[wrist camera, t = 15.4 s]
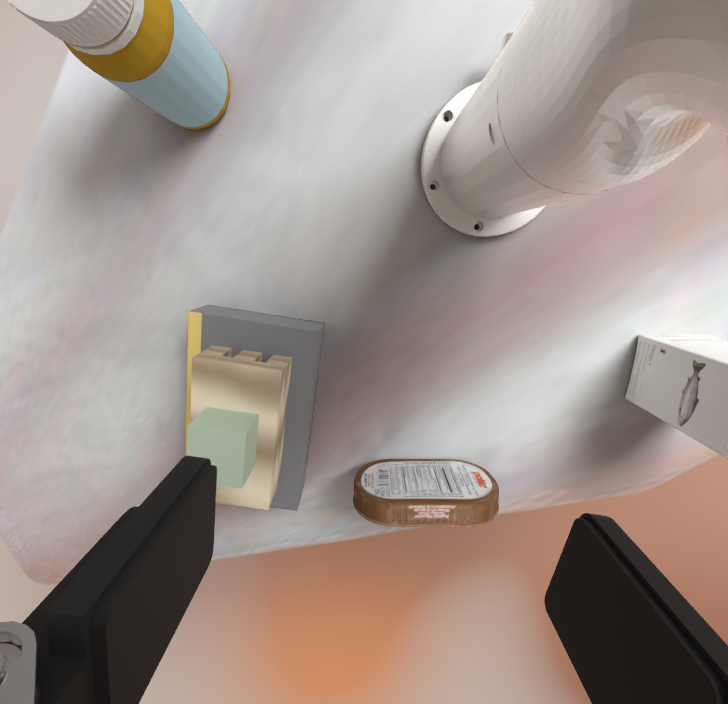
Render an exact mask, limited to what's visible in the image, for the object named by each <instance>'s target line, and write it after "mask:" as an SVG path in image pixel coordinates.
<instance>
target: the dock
mask: <svg viewBox="0 0 728 704" xmlns="http://www.w3.org/2000/svg"><path fill="white" fill-rule="evenodd" d="M324 325H325V323H320V322H313V321H307V320H301V319H294V318H288V317H282V316H275V315H269V314H263V313H256V312H250V311H244V310H237V309H231V308H225V307H218V306H212V305H206V306H203V307H200V308H198V309H195V310H192V311H189V312H188V349H187V398H186V446H185V456H187V432H188V425H189V424H190V423H191V380H192V358H193V357H194V356H196V355H198V354H199V353H201V352H202V351H204V350H206V349H207V348H209V347H211V346H212V345H213V346H220V347H226V348H232V353H231V358H233V357H235V356H236V355H237V354H239V353H240V352H241V351H242V350H246V351H252V352H259V353H262V360H261V362H264V363H266V362H267V361H268V360H269V359H270V358H271V356H272V355H279V356H285V357H292V364H291V373H290V383H289V392H288V402H287V411H286V421H285V430H284V440H283V449H282V459H281V468H280V478H279V484H278V487H277V490H276V492H275V495H274V497H273V500H272V503H271V505H270V507H273V508H280V509H287V510H295V511H297V509H298V505H299V501H300V498H301V494H302V490H303V487H304V479H305V471H306V464H307V456H308V448H309V441H310V433H311V425H312V417H313V410H314V402H315V394H316V387H317V379H318V371H319V363H320V356H321V348H322V340H323V333H324Z"/></svg>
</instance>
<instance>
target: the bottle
mask: <svg viewBox="0 0 728 704" xmlns="http://www.w3.org/2000/svg"><path fill="white" fill-rule="evenodd" d="M7 1H8V2H9V3H10V4H11V5H12V6H13V7H15V8H16V9H17V10H18V11H19V12H20V13H22V14H23V15H25V16H26V17H28V18H29V19H31V20H32V21H33V22H35V23H36V24H38V25H39V26H41V27H42V28H44V29H45V30H47V31H48V32H49V33H51V34H53V35H54V36H55V37H58V38H59V39H61V40H63V42H64V43H65V44H66V45H67V47H68V48H69V50H70V51H71V52H72V53H73V54H74V55H75V56H76V57H77V58H78V59H79V60H80V61H81V62H82V63H83V64H85V65H86V66H87V67H89V68H90V69H91V70H93V71H94V72H96V73H97V74H99V75H100V76H102V77H103V78H105V79H106V80H108V81H109V82H111V83H112V84H114V85H116V86H117V87H119V88H120V89H122V90H123V91H125V92H126V93H128V94H129V95H131V96H132V97H134V98H135V99H137V100H138V101H140V102H142V103H143V104H145V105H146V106H148V107H149V108H151V109H152V110H154V111H155V112H157V113H158V114H160V115H161V116H163V117H165V118H166V119H168V120H169V121H171V122H173V123H175V124H177V125H179V126H181V127H183V128H187V129H194V130H196V129H202V128H206V127H209V126H210V125H212V124H213V123H215V122H216V121H217V120H218V119H219V118H220V117H221V116H222V114H223V113H224V111H225V110H226V107H227V104H228V101H229V97H230V79H229V75H228V71H227V67H226V65H225V63H224V61H223V59H222V58H221V56H220V54H219V53H218V51H217V50H216V48H215V47H214V46H213V44H212V43H211V42H210V40H209V39H208V38H207V36H206V35H205V34H204V33H203V31H202V30H201V29H200V27H199V26H198V25H197V23H196V22H195V21H194V19H193V18H192V17H191V15H190V14H189V13H188V11H187V10H186V9H185V7H184V6H183V5H182V3H181V2H180V1H179V0H7Z"/></svg>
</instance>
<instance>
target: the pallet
mask: <svg viewBox="0 0 728 704" xmlns="http://www.w3.org/2000/svg"><path fill="white" fill-rule="evenodd" d="M231 353H232V348H226V347H220V346H213V345H212V346H211V347H209V348H207V349H206V350H204V351H202V352H201V353H199V354H198V355H196V356H194V357H193V358H192V380H191V422H192V421H193V420H194V419H195V418H196V417H197V416H198V415H199V414H200V413H201V412H202V411H203V410H204V409H205V408H206V407H212V408H219V409H225V410H232V411H239V412H246V413H253V414H259V422H258V435H257V447H256V460H255V465H254V467H253V469H252V471H251V473H250V475H249V477H248V479H247V480H246V482H245V484H244V486H243V488H235V487H227V486H220V485H216V503H221V504H228V505H235V506H242V507H249V508H256V509H263V510H269V508H270V505H271V503H272V500H273V497H274V495H275V492H276V490H277V487H278V484H279V478H280V468H281V459H282V449H283V440H284V430H285V421H286V411H287V402H288V392H289V383H290V373H291V364H292V357H285V356H279V355H272V356H271V358H270V359H269V360H268V361H267V362H266V363H264V362H261V360H262V353H259V352H252V351H246V350H242V351H241V352H240V353H239V354H237V355H236V356H235V357H233V358H231Z"/></svg>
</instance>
